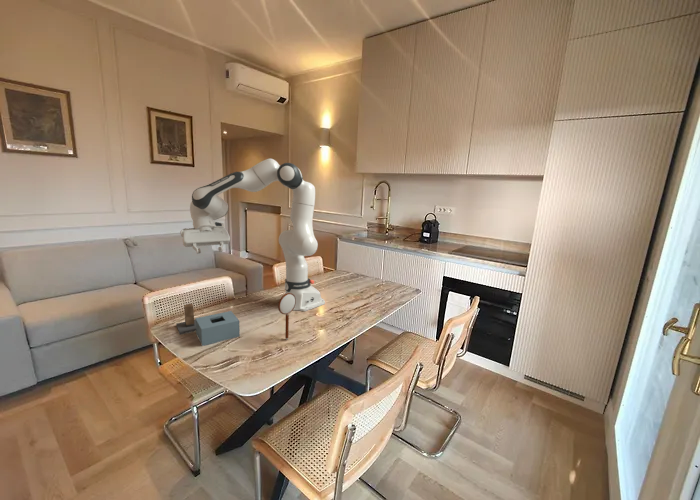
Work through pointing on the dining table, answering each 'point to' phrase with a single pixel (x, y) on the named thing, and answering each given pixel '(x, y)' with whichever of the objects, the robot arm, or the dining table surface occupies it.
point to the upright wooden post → (189, 315)
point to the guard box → (217, 327)
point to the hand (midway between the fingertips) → (210, 251)
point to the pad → (183, 328)
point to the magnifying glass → (287, 308)
